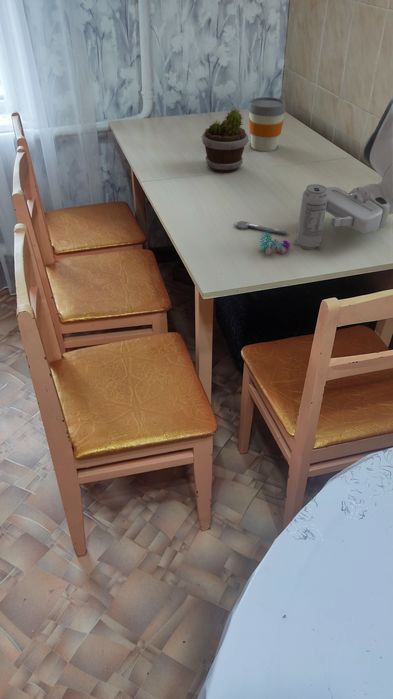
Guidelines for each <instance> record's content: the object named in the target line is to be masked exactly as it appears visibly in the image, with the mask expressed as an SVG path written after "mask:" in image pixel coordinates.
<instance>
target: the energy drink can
mask: <svg viewBox="0 0 393 699" xmlns="http://www.w3.org/2000/svg"><path fill="white" fill-rule="evenodd" d="M326 190H327V187H326V186H325V185H323V184H319V183H312V184H311V183H310V184H308V185H307V186H306V187H305V189H304V191H303V192H302V198H301V204H300V212H299V219H298V226H297V234H296V241H295V242H296V243H297V245H298V247H299V248H302V249H305V250H314V249H317V247H318V246H320V244H321V239H322V235H323V229H324V224H325V218H326V213H327V212H326V206H327V200H328V194H327V191H326Z"/></svg>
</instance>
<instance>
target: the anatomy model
mask: <svg viewBox="0 0 393 699" xmlns="http://www.w3.org/2000/svg"><path fill="white" fill-rule="evenodd" d="M272 238H273V237H272V232H270V231H263V233H262V234H261V235H260V237H259V238H258V242H259V245H260V247H261V248H260V249H262V252H264V254H265V256H271V254H272V250H273V249H274V248H275V250H276V251H275V254H278V255H280V253H281V254H286V253H287V250H289V248H290V246H291V242H289V241H288V240H286V239H284V240H282V242H279V241H278V240H277V239H276V238H274V239H273V240H272ZM272 247H273V248H272Z"/></svg>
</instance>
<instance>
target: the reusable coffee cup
mask: <svg viewBox="0 0 393 699" xmlns="http://www.w3.org/2000/svg"><path fill="white" fill-rule="evenodd" d="M248 112H249V117H248V131H249V134H250V146H251V148H252V149H253V150H254V151H255V150H256V151H259V152H271V151H274V150H276V149H277V146H278V141H279V137H280V136H281V134H282V130H283V125H284V121H285V120H284V114H285V113H286V101H285V100H283V99H281V98H277V97H269V96H264V97H263V96H261V97H254V98H252V99H250V101H249V105H248Z"/></svg>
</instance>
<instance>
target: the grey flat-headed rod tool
mask: <svg viewBox="0 0 393 699" xmlns="http://www.w3.org/2000/svg"><path fill="white" fill-rule="evenodd" d="M235 224H236V225H235V226H236V228H237V229H239V230H247V229H252V230H253V229H254V230H259V231H263V232H266V231H270V232H271V233H275V234H277V235H278V234H279V235H283V236H285V235H287V230H283V229H278V228H273V227H267V226H262V225H257V224H252V223H249V222H248V221H245V220H241V221H237V222H236V223H235ZM270 232H269V233H270Z"/></svg>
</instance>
